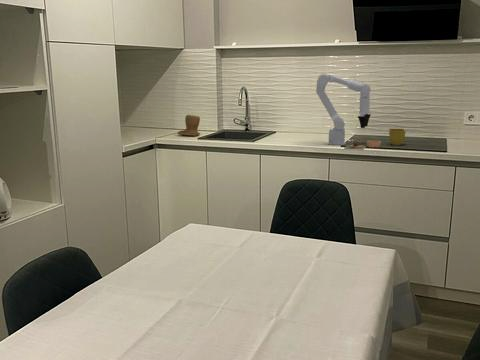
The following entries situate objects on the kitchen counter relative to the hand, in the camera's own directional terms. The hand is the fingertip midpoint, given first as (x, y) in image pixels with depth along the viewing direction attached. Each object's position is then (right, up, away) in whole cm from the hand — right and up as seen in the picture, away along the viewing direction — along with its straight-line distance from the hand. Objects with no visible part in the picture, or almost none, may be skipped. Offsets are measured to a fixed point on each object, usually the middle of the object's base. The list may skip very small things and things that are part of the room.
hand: (364, 127), depth 293 cm
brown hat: (-111, 0, +54) cm, 123 cm away
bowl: (+4, -12, -6) cm, 14 cm away
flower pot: (+19, -11, -1) cm, 22 cm away
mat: (-7, -13, -9) cm, 17 cm away
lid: (-7, -13, -9) cm, 17 cm away
